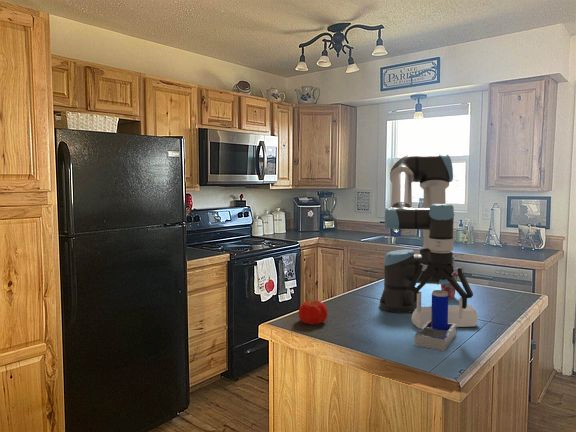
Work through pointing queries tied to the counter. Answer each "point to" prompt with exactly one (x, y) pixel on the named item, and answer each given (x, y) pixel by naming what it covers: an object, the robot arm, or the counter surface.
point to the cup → (450, 287)
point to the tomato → (313, 312)
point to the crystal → (453, 316)
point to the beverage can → (439, 310)
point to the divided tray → (435, 336)
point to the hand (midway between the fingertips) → (439, 314)
